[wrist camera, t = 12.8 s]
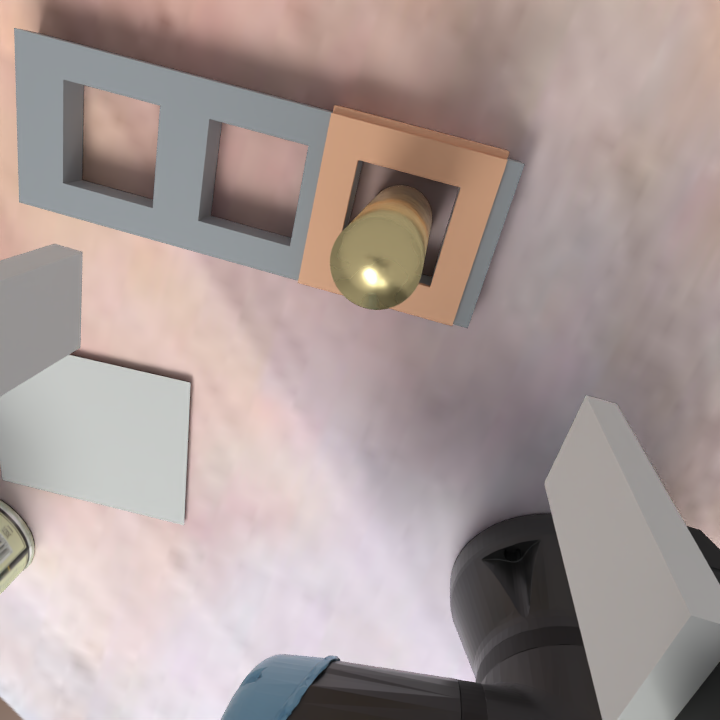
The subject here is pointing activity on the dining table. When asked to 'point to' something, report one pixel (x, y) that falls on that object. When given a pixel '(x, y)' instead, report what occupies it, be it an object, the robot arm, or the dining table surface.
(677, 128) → the dining table surface
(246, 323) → the dining table surface
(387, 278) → the brass peg
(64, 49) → the hole plate
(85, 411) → the paper stack
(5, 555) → the coffee can
